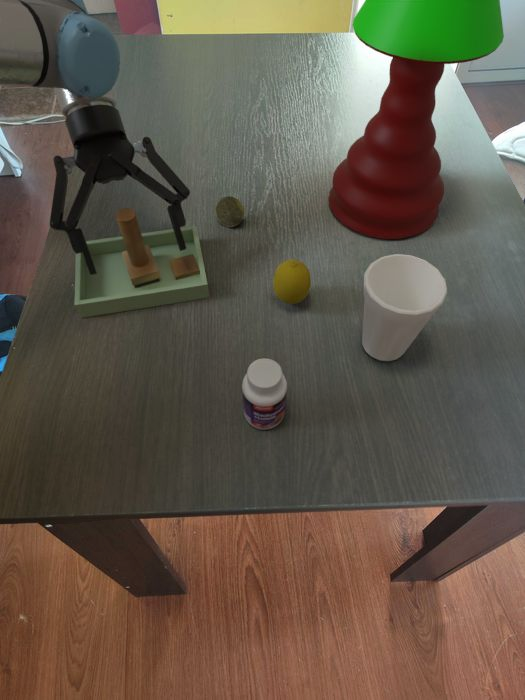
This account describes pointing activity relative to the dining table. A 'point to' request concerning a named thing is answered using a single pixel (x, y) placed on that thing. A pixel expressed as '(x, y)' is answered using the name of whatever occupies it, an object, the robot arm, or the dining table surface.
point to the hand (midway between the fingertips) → (139, 261)
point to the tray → (114, 281)
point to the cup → (398, 303)
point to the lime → (229, 211)
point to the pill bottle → (264, 394)
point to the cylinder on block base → (136, 250)
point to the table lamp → (408, 111)
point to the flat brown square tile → (184, 266)
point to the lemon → (292, 281)
